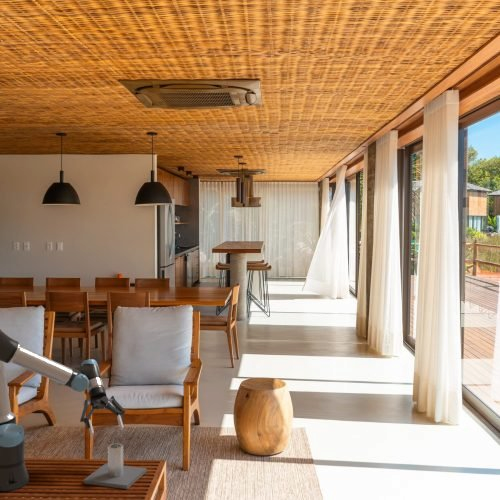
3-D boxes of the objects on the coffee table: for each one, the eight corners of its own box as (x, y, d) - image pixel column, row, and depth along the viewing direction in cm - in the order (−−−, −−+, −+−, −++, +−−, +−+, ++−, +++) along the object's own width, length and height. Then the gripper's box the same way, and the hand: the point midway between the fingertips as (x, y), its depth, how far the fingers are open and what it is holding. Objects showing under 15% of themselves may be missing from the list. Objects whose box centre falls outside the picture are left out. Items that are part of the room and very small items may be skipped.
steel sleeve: (105, 476, 240) (105, 447, 239) (112, 470, 245) (112, 443, 245) (118, 477, 238) (118, 449, 238) (125, 471, 244) (125, 444, 244)
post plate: (83, 483, 236) (83, 460, 236) (105, 466, 253) (105, 445, 253) (127, 489, 231) (127, 465, 230) (146, 471, 248) (146, 449, 248)
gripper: (119, 390, 271) (131, 430, 259) (67, 398, 257) (77, 441, 245) (124, 382, 267) (136, 422, 254) (70, 389, 253) (81, 432, 240)
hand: (107, 431), depth 250 cm, fingers open, 13 cm apart
